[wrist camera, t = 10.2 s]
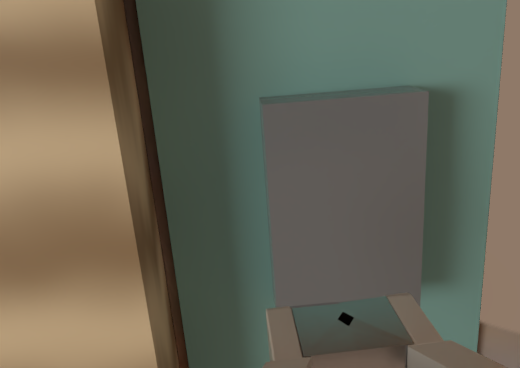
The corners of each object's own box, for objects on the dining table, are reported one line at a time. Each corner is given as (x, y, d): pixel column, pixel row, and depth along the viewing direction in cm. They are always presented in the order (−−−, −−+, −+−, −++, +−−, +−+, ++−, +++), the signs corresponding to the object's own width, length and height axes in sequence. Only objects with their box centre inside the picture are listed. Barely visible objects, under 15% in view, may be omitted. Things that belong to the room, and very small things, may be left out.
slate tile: (428, 91, 17) (408, 85, 18) (262, 104, 16) (258, 97, 18) (420, 308, 19) (403, 284, 21) (277, 322, 19) (273, 296, 21)
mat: (124, -88, 16) (122, -90, 16) (511, -114, 17) (517, -117, 17) (196, 410, 23) (195, 414, 23) (470, 381, 24) (473, 385, 23)
